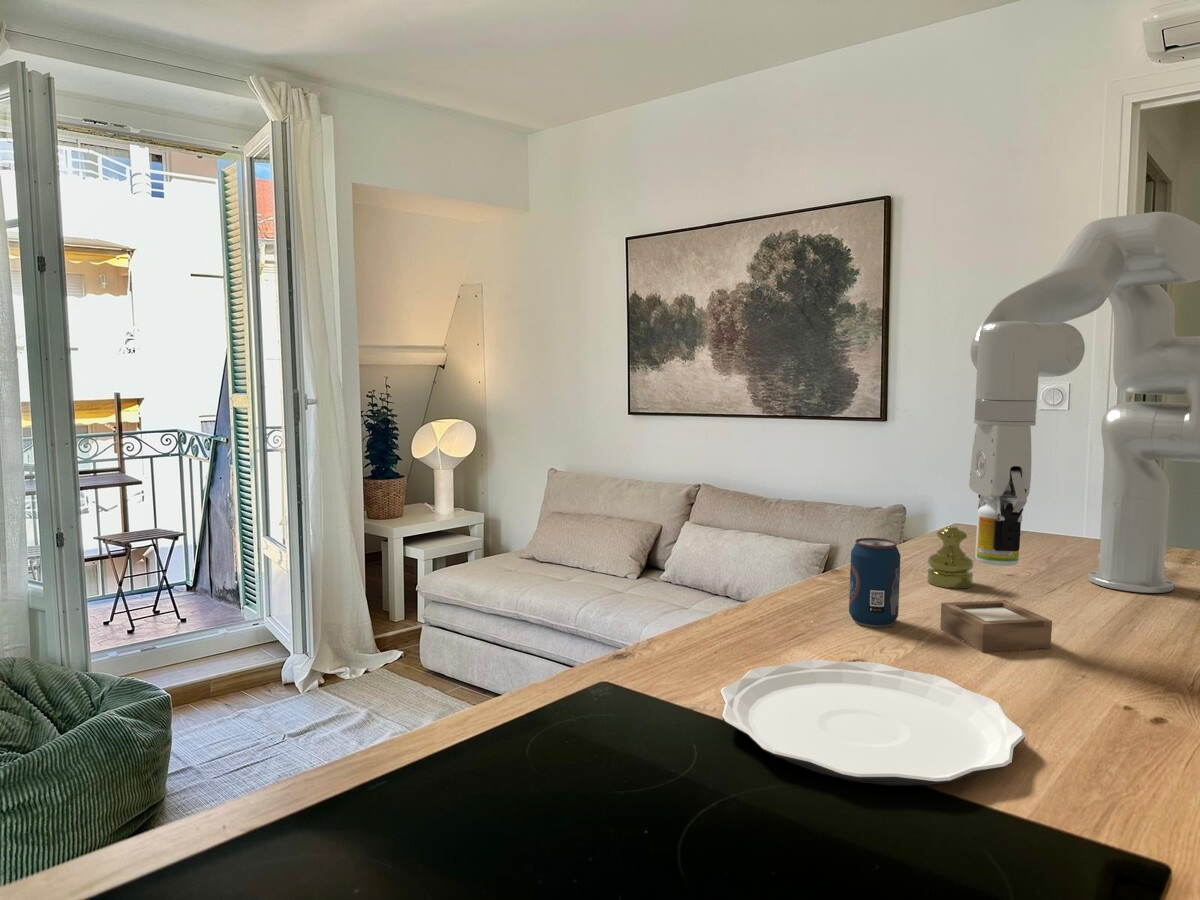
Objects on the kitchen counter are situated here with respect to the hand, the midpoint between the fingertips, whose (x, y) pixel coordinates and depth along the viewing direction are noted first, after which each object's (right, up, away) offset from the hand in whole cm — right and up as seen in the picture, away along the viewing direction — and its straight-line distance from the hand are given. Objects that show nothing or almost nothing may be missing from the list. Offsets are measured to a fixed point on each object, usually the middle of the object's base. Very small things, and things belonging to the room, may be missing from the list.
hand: (997, 544), depth 115 cm
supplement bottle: (0, -3, 0) cm, 3 cm away
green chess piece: (+6, -10, +31) cm, 33 cm away
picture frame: (0, -13, +1) cm, 13 cm away
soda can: (-14, -13, +9) cm, 21 cm away
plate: (-27, -17, -28) cm, 42 cm away
